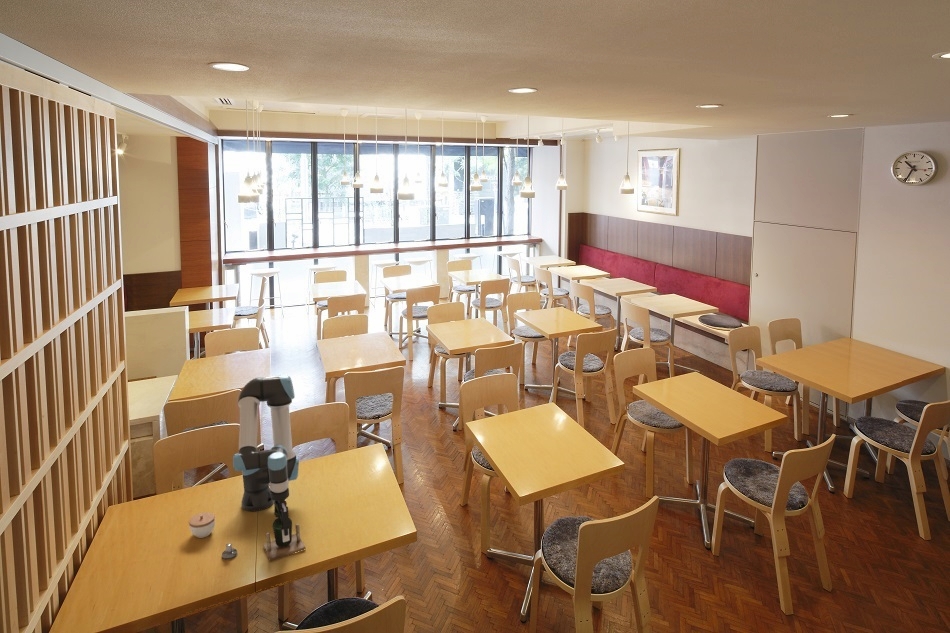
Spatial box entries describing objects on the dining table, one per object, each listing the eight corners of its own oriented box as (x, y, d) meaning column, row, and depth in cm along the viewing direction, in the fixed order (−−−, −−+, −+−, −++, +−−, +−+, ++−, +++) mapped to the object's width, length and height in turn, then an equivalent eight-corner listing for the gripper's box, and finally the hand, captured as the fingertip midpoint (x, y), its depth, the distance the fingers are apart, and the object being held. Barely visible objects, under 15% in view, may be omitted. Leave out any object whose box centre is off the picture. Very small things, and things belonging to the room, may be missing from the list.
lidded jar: (191, 543, 258) (188, 524, 256) (190, 530, 267) (187, 512, 265) (217, 536, 263) (215, 518, 261) (215, 524, 272) (213, 506, 270)
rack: (263, 547, 255) (261, 527, 253) (297, 536, 263) (296, 517, 261) (270, 561, 246) (268, 541, 243) (305, 549, 253) (304, 530, 251)
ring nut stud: (221, 553, 251) (219, 543, 250) (235, 549, 254) (234, 539, 253) (223, 561, 246) (222, 550, 245) (238, 556, 249) (237, 546, 248)
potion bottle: (277, 536, 258) (274, 500, 254) (296, 537, 258) (293, 500, 253) (271, 548, 250) (267, 510, 246) (289, 548, 250) (286, 511, 246)
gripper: (264, 480, 254) (268, 526, 260) (277, 502, 237) (281, 551, 243) (281, 476, 258) (285, 521, 264) (295, 497, 241) (299, 545, 247)
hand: (283, 535), depth 253 cm, fingers closed on potion bottle, 8 cm apart
